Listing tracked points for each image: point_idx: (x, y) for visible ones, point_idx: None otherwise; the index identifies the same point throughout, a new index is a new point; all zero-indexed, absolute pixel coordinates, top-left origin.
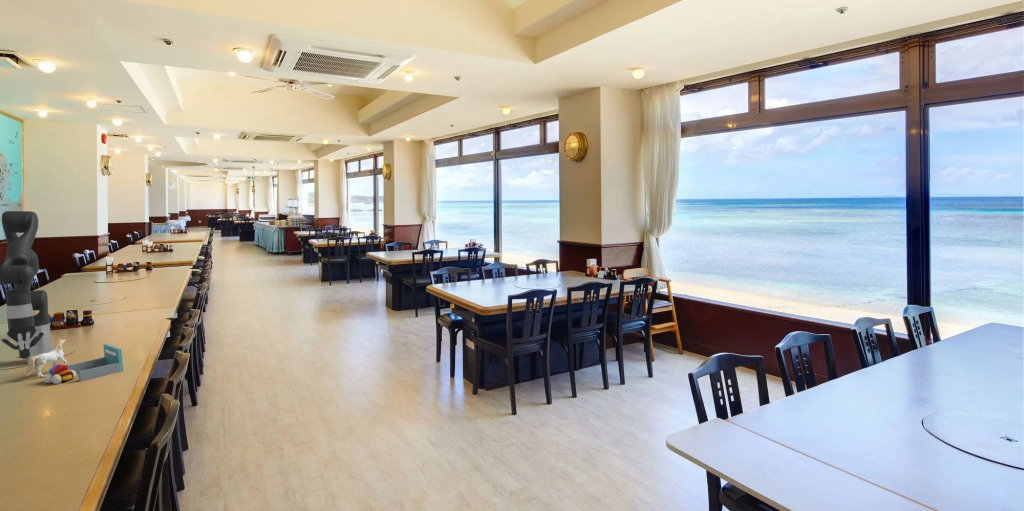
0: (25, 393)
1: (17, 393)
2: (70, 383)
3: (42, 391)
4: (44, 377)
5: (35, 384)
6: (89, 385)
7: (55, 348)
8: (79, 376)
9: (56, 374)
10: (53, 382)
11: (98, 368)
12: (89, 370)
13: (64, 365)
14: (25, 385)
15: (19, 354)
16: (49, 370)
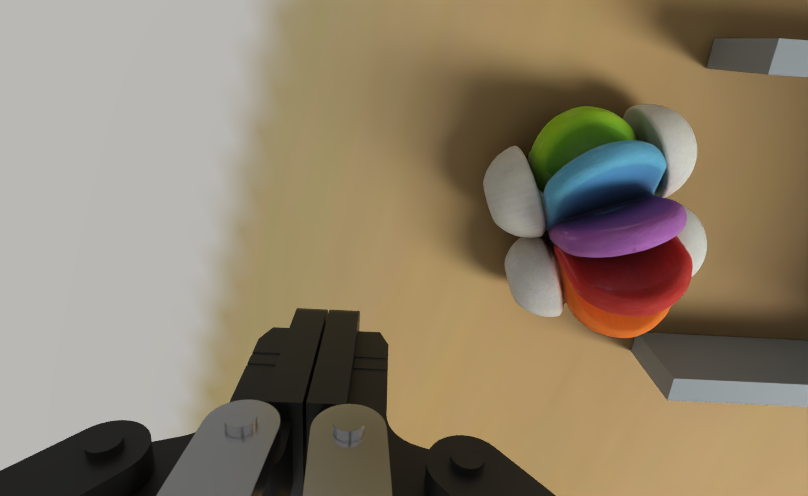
0: (312, 305)
1: (277, 255)
2: (573, 338)
3: (393, 357)
4: (491, 201)
5: (436, 120)
6: (599, 477)
7: None
8: (650, 362)
9: (553, 294)
10: (506, 275)
11: (799, 401)
12: (733, 400)
13: (661, 309)
14: (380, 70)
15: (250, 375)
16: (560, 192)
